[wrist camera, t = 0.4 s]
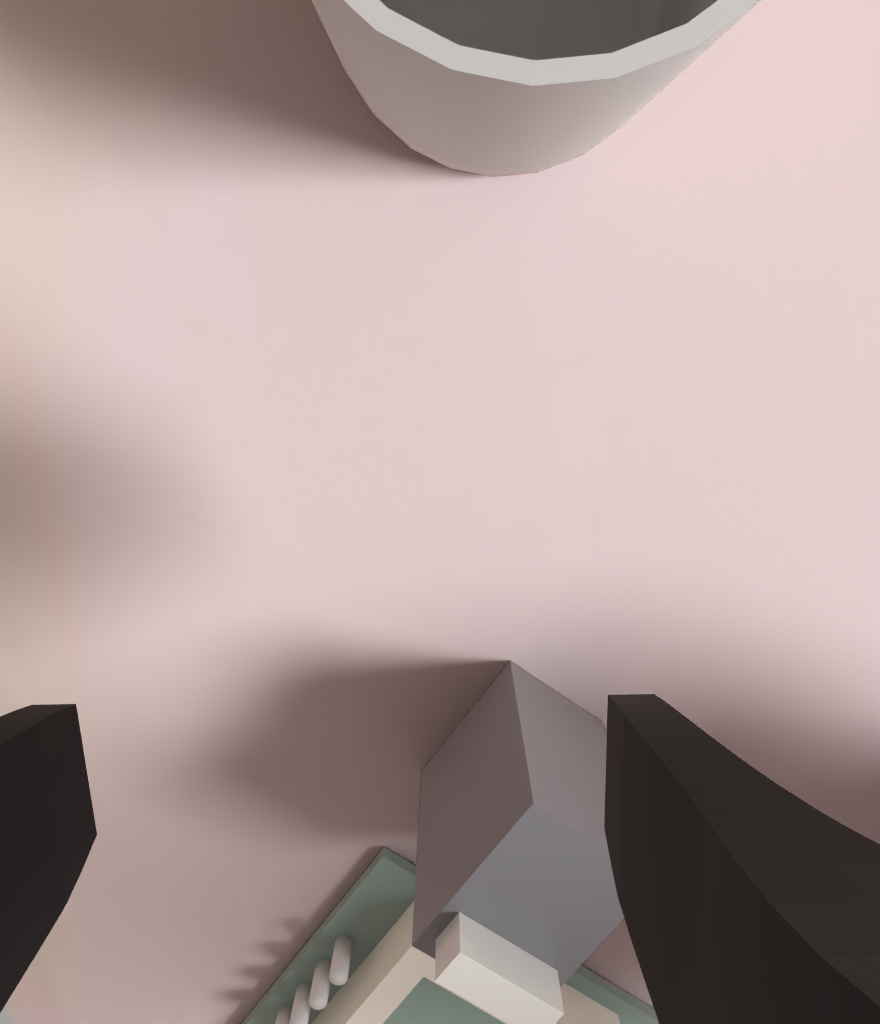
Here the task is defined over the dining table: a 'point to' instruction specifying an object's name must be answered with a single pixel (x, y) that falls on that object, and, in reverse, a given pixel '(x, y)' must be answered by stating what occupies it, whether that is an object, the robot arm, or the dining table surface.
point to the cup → (516, 70)
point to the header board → (402, 969)
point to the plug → (515, 850)
